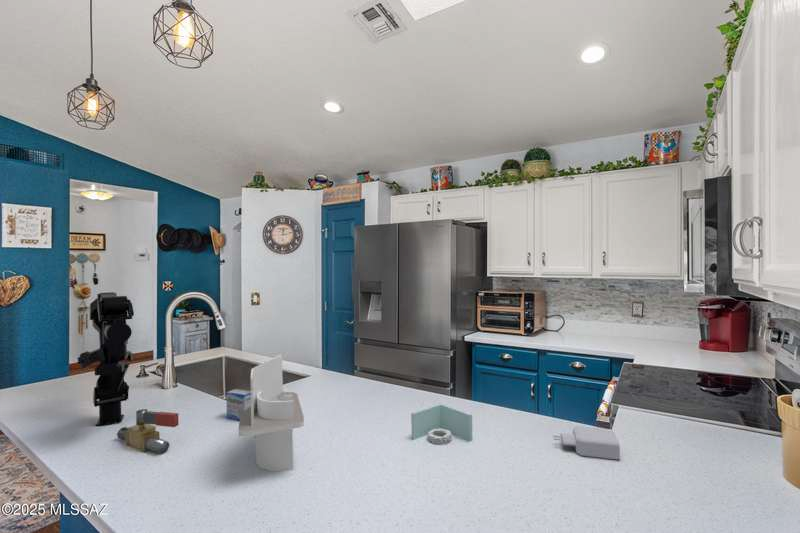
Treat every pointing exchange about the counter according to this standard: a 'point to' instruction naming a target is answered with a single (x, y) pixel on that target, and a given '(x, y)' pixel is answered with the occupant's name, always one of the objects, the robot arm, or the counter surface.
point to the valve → (143, 438)
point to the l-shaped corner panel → (441, 424)
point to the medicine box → (237, 403)
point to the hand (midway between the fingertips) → (115, 391)
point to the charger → (592, 442)
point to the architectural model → (271, 417)
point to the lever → (156, 418)
